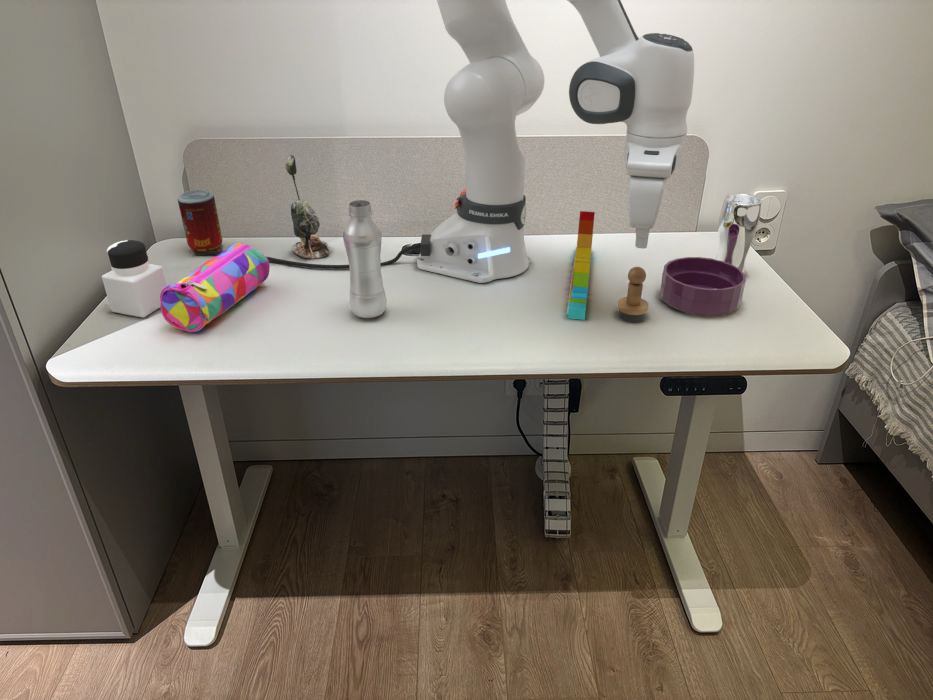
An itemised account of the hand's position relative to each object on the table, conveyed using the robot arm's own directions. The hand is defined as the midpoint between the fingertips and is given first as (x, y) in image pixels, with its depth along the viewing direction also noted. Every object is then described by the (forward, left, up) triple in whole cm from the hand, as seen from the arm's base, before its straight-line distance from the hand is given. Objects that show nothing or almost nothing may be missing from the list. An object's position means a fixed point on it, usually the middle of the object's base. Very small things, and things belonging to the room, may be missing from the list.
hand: (644, 236), depth 113 cm
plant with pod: (-67, +8, -15) cm, 69 cm away
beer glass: (+16, +24, -15) cm, 33 cm away
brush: (0, 0, -15) cm, 15 cm away
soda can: (-89, +3, -15) cm, 91 cm away
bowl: (+11, +10, -15) cm, 21 cm away
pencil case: (-70, -19, -15) cm, 74 cm away
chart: (-11, +11, -15) cm, 22 cm away
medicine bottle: (-84, -23, -15) cm, 89 cm away
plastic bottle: (-44, -13, -15) cm, 49 cm away
